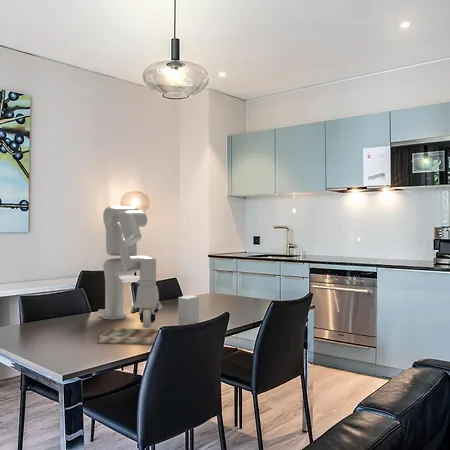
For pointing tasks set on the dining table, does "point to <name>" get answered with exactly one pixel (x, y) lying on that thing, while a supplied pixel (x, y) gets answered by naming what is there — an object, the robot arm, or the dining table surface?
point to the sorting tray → (128, 336)
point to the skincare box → (188, 309)
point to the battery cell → (147, 317)
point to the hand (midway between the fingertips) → (147, 321)
